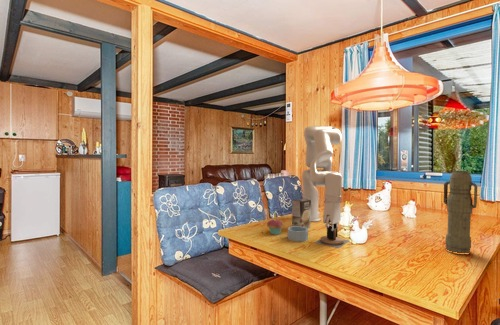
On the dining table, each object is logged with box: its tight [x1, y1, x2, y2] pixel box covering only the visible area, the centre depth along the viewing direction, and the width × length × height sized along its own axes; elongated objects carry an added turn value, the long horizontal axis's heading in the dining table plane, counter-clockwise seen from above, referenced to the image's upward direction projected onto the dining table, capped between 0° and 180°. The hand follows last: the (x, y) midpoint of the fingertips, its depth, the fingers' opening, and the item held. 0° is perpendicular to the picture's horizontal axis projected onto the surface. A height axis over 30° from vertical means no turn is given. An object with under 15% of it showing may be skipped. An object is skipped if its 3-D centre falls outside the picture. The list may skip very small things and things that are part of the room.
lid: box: [320, 228, 345, 245], centre depth 136 cm, size 11×11×6 cm
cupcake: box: [266, 212, 284, 235], centre depth 150 cm, size 9×8×12 cm
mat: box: [313, 238, 350, 249], centre depth 136 cm, size 14×12×1 cm
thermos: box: [443, 170, 478, 253], centre depth 125 cm, size 9×12×35 cm
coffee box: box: [291, 198, 311, 230], centre depth 160 cm, size 9×6×16 cm
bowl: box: [287, 226, 309, 242], centre depth 141 cm, size 10×10×5 cm
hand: (332, 237), depth 136 cm, fingers closed on lid, 3 cm apart
